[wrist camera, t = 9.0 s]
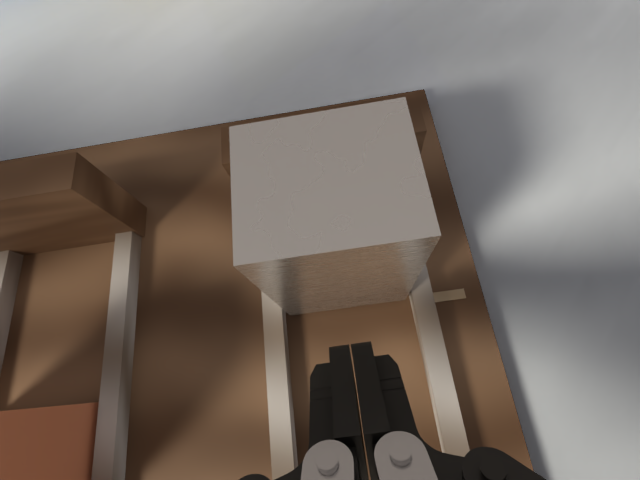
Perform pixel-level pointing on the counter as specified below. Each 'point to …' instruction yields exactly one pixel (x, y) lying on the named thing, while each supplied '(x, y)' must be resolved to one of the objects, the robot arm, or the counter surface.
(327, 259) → the steel slider
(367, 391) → the robot arm
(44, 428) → the terracotta slider
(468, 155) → the counter surface
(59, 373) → the board
